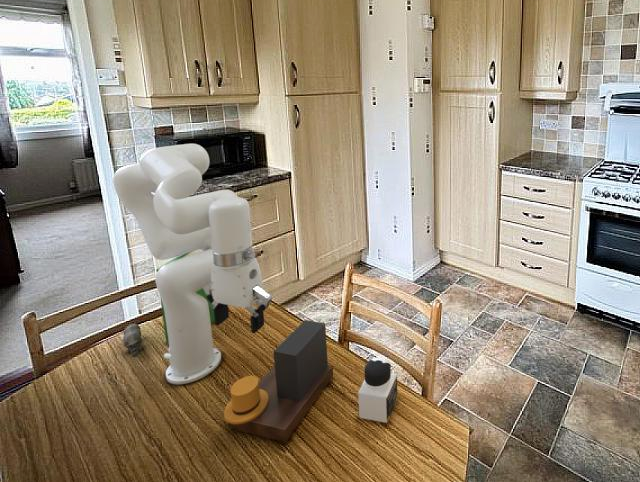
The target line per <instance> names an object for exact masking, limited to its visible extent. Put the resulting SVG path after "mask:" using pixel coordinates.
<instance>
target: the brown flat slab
mask: <svg viewBox="0 0 640 482" xmlns="http://www.w3.org/2000/svg"><path fill="white" fill-rule="evenodd" d="M333 377H334V366H333V365H332V364H328V365H327V366H326V367H325V369H324V370H323V371H322V373H321V374H320V375H319V376H318V378H317V379H316V380H315V382H314V383H313V384H312V386H311V387H310V388H309V390H308V391H307V392H306V393H305V395H304V396H303V397H302V399H301V400H300V401H295V400H290V399H286V398H282V397H277V387H276V375H275V364H274V365H273V366H272V367H271V369H269V370H268V372H266V373H265V375H264V376H262V378H261V379H260V380H259V389H262V390H264V391H266V392H267V394H268V398H269V401H268V404H267V407H266V408H265V410H264V411H263V412H262V413H261V414H260V415H259V416H257V417H256V418H254V419H252V420H251V421H248V422H246V423H242V424H230V423H228V422H227V425H228V428H232V430H234V431H235V430H236V431H239V432H242V433H247V434H249V435H254V436H257V437H262V438H265V439H269V440H273V441H277V442H280V443H284V444H286V443H287V442H288V441H289V439H290V438H291V437H292V434H293V433H294V431H295V430H296V428H297V427H298V426H299V424H300V423H301V421H302V420H303V419H304V417H305V416H306V415H307V413H308V412H309V410H310V409H311V408H312V406H313V405H314V403H315V402H316V401H317V399H318V398H319V396H320V395H321V394H322V392H323V391H324V389H325V388H326V387H327V386H328V385H329V383H331V381H332V379H333Z"/></svg>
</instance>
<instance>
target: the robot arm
mask: <svg viewBox="0 0 640 482" xmlns="http://www.w3.org/2000/svg"><path fill="white" fill-rule="evenodd" d="M209 167H210V156H209V153H208V152H207V150H206V149H205V147H203V146H201V144H197V143H184V144H175V145H166V146H159V147H155V148H152V149H149V150H147V151H146V152H145V153H143V154H142V156H141V157H140V159H139V162H137V163H132V164H129V165H126V166H123V167H120V168H119V169H118V170H116V171H115V172H114V174H113V179H112V182H113V188H114V190H115V194H116V196H117V197H118V199H119V200H120V202H121V204H122V205H123V206H124V207H125V209H127V210H128V211H129V212H130V213H131V215H132V216H133V217H134V218H135V220H136V222H137V224H138V226H139V229H140V231H141V233H142V236H143V239H144V241H145V242H146V245H147V247H148V249H149V252H150V253H151V255H152V256H153V257H154V259H156V260H159V261H165V260H169V259H174V258H176V257H177V256H180V255H183V254H186V253H189V252H192V251H195V250H198V249H201V250H202V252H199V253H196V254H192V255H189V256H186V257H183V258H180V259H178V260H175V261H172V262H170V263H168V264H166V263H165V264H166V265H164V264H163V265H164V266H163V265H162V266H163V267H162V268H160V269H159V271H158V272H157V271H156V273H155V277H154V278H155V279H154V281H155V284H156V285H155V286H156V289H157V292H158V293H159V298H160V297H161V299H160V301H161V300H162V303H163V307H164V312H165V319H166V325H167V333H168V340H169V344H168V346H169V347H168V349H167V352H166V353H164V355H163V359H165V360H168V361H169V366H168V367H167V368H166V371H165V378H166V381H167V382H168V383H170V384H172V385H185V384H190V383H193V382H196V381H198V380H201V379H203V378H205V377H206V376H208V375H209V374H211V373H212V372H213V371H214V370H216V368H217V367H218V366H219V365H220V363H221V361H222V352H221V351H220V350H219V349H218V348H216V347H214V339H213V331H212V324H211V322H210V313H209V305H208V302H207V300H206V299H205V298H204V297H203V296H201V295H199V294H197V293H196V292H197V291H198V290H200V289H204V291H205V293H206V295H207V299H208V300H209V301H210V303H211V308H213V309H214V318H215V321H214V325H215V326H219V325H221V324H223V323H224V322H225V321H227V320H228V319H229V318H230V315H229V314H230V313H229V306H232V307H236V308H243V309H247V311H249V313H250V314H251V315H250V317H249V320H250V321H249V322H250V330H251V333H252V334H256V333H257V332H258V331H259V330H260V329H261V328H263V327H264V326H265V314H264V313H265V312H264V311H265V310H267V308H268V307H269V306H270V304H271V301H272V299H273V296H272V295H271V294H270V293H268V292H267V291H265V290H264V283H263V278H262V277H263V276H262V272H261V268H260V265H259V261H258V259H257V258H256V252H254V247H253V234H252V222H251V211H250V210H251V209H250V203H249V201H248V200H247V199H245V198H244V197H239V195H237V193H236V192H234V191H232V190H230V189H219V190H215V191H210V192H206V193H200V194H196V195H193V194H194V193H196V192H197V191H198V190H199V189H200V187H201V185H202V181H203V175H204V174H205V173H206V172H207V170H208V169H209ZM153 193H154V194H153ZM254 304H255V305H256V306H257V308H256V307H255V306H254Z"/></svg>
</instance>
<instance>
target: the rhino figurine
mask: <svg viewBox="0 0 640 482" xmlns="http://www.w3.org/2000/svg"><path fill="white" fill-rule="evenodd" d="M122 337H123V338H122V341H123V346H124V347H125V348H126V349H127V350H126V351H125V353H127V354H131V355H132V357H133V358H137V357H138V356H139V354H140V351H142V349H143V347H142V346H141V343H142V340H143V339H142V331H141V327H140V325H139V324H137V323H130V324H129V325H127V327H125V328H124V330H123V336H122Z"/></svg>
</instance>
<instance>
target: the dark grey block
mask: <svg viewBox="0 0 640 482" xmlns="http://www.w3.org/2000/svg"><path fill="white" fill-rule="evenodd" d="M327 345H328V344H327V331H326V323H324V322H319V321H314V320H307V319H304V320H303V321H302V322H301V323H300V324H299V325H298V326H297V327H296V328H295V329H294V330H293V331H292V332H291V333H290V334H289V335H288V336H287V337H286V338H285V339H284V340H283V341H282V342H281V343H280V344H279V345H278V346H277V347H276V348H275V349H274V350H273V361H274V362H273V363H274V365H275V375H276V387H277V397H282V398H286V399H290V400H295V401H300V400H301V399H302V397H303V396H304V395H305V393H306V392H307V391H308V390H309V388H310V387H311V386H312V384H313V383H314V382H315V380H316V379H317V378H318V376H319V375H320V374H321V373H322V371H323V370H324V369H325V367H326V366H327V365H329V364H328V363H329V362H328V361H329V360H328V348H327V347H328V346H327Z"/></svg>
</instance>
